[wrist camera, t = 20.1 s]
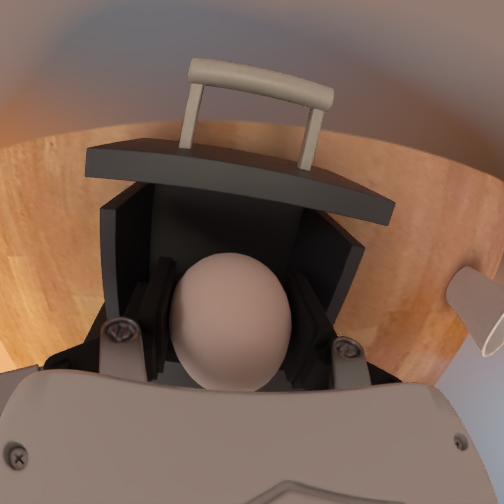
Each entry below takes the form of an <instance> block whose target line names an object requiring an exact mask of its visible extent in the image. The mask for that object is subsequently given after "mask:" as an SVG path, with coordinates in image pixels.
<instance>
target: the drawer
mask: <svg viewBox="0 0 504 504" xmlns="http://www.w3.org/2000/svg"><path fill="white" fill-rule="evenodd" d="M188 83H190V84H191V86H190V91H189V96H188V100H187V105H186V110H185V115H184V120H183V125H182V131H181V136H180V141H171V140H162V139H151V138H141V139H134V140H127V141H121V142H115V143H110V144H104V145H99V146H94V147H89V148H87V152H86V165H85V177H94V178H106V179H117V180H127V181H137V182H136V183H134V184H133V185H131V186H130V187H128V188H127V189H126V190H124V191H123V192H121V193H120V194H119V195H117V196H116V197H114V198H113V199H112V200H110V201H109V202H108V203H106V204H105V205H104V206H102V207H101V208H100V247H101V266H102V279H103V290H104V299H105V307H106V315H107V320H108V319H110V318H113V317H119V316H124V313H125V311H126V308H127V306H128V304H129V301H130V299H131V297H132V294H133V292H134V290H135V288H136V285H137V283H138V282H142V283H148V284H149V282H150V279H151V277H152V274H153V272H154V269H155V267H156V264H157V262H158V259H159V257H160V256H164V257H172V261H177V266H176V278H175V287H176V285H177V284H178V282H179V280H180V279H181V278H182V277H183V275H184V274H185V273H186V271H187V270H188V269H189V268H190V267H192V266H193V265H194V264H196V263H197V262H199V261H200V260H202V259H203V258H206V257H209V256H211V255H214V254H220V253H238V254H242V255H246V256H250V257H252V258H254V259H256V260H258V261H260V262H261V263H262V264H264V265H265V266H266V267H268V268H269V269H270V270H271V271H272V272H273V274H274V275H275V276H276V277H277V278H278V280H279V282H280V284H281V286H282V288H283V289H284V286H285V283H286V279H287V277H288V276H291V275H292V274H293V273H294V274H303V275H305V276H306V277H307V279H308V281H309V283H310V285H311V287H312V289H313V290H314V292H315V294H316V296H317V298H318V300H319V302H320V304H321V305H322V307H323V309H324V311H325V313H326V315H327V317H328V319H329V321H330V323H331V325H332V327H333V325H334V323H335V320H336V318H337V316H338V314H339V312H340V309H341V307H342V305H343V303H344V300H345V298H346V296H347V293H348V291H349V289H350V286H351V284H352V281H353V279H354V276H355V274H356V271H357V269H358V266H359V264H360V261H361V258H362V256H363V253H364V250H365V247H364V246H363V245H362V244H361V243H359V242H358V241H357V240H356V239H355V238H354V237H353V236H352V235H351V234H350V233H349V232H347V231H346V230H345V229H344V228H343V227H342V226H341V225H340V224H338V223H337V222H336V221H335V220H334V219H333V218H332V217H330V216H329V215H328V214H327V213H326V212H329V213H334V214H338V215H343V216H347V217H351V218H356V219H360V220H364V221H368V222H373V223H377V224H381V225H385V226H388V225H389V222H390V219H391V216H392V213H393V210H394V207H395V202H394V201H392V200H390V199H388V198H386V197H384V196H382V195H380V194H378V193H376V192H374V191H372V190H370V189H368V188H366V187H364V186H362V185H360V184H358V183H355V182H353V181H351V180H349V179H347V178H345V177H342V176H340V175H338V174H336V173H333V172H331V171H329V170H326V169H322V168H318V167H314V166H312V162H313V158H314V154H315V150H316V145H317V141H318V137H319V133H320V128H321V124H322V120H323V115H324V112H327V111H328V110H329V109H330V108H331V106H332V103H333V100H334V90H333V89H332V88H330V87H327V86H324V85H321V84H318V83H315V82H312V81H309V80H306V79H302V78H299V77H295V76H291V75H288V74H284V73H280V72H276V71H272V70H268V69H263V68H259V67H254V66H249V65H243V64H238V63H232V62H226V61H219V60H213V59H204V58H193V59H192V61H191V64H190V67H189V72H188ZM204 85H206V86H213V87H221V88H227V89H233V90H238V91H244V92H249V93H254V94H259V95H263V96H268V97H272V98H276V99H281V100H284V101H288V102H292V103H296V104H299V105H303V106H307V107H310V108H312V109H310V113H309V118H308V122H307V126H306V131H305V135H304V139H303V143H302V148H301V152H300V156H299V160H298V162H294V161H289V160H285V159H281V158H276V157H271V156H266V155H262V154H257V153H251V152H246V151H241V150H235V149H229V148H223V147H217V146H210V145H203V144H196V143H193V139H194V133H195V128H196V123H197V117H198V112H199V108H200V102H201V98H202V94H203V89H204ZM167 351H174V352H175V349H174V347H173V344H172V341H171V338H170V335H169V341H168V346H167Z"/></svg>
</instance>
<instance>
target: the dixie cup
mask: <svg viewBox="0 0 504 504" xmlns="http://www.w3.org/2000/svg"><path fill="white" fill-rule="evenodd" d="M446 300H447V302H448V303H449V304H450V306H451V307H452V308H453V310H454V311H455V313H456V314H457V315H458V317H459V318H460V320H461V321H462V322H463V324H464V325H465V327H466V328H467V330H468V331H469V333H470V334H471V335H472V337H473V339H474V340H475V342H476V343H477V345H478V346H479V348H480V350H481V354H482V356H484V357H487V356H490V355H491V354H493V353H494V352H496V351H497V350H498V349H499V348H500V347H501V346H502V345H503V344H504V287H503V286H502V285H500V284H499V283H497V282H495V281H494V280H492V279H490V278H488V277H487V276H485V275H483V274H482V273H480V272H478V271H477V270H474V269H473V268H471V267H469V266H466V267H463V268H462V269H460V270H459V271H458V272H457V273H456V274H455V275H454V277H453V278H452V280H451V281H450V283H449V285H448V288H447V291H446Z"/></svg>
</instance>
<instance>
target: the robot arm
mask: <svg viewBox="0 0 504 504" xmlns="http://www.w3.org/2000/svg"><path fill="white" fill-rule="evenodd" d="M176 266H177V261H172V257H164V256H160V257H159V259H158V262H157V264H156V267H155V269H154V272H153V274H152V277H151V279H150V282H149V284H148V283H142V282H138V283H137V285H136V288H135V290H134V292H133V294H132V297H131V299H130V301H129V304H128V306H127V308H126V311H125V313H124V316H119V317H113V318H110V319H108V320H107V321H105V322H104V324H103V325H102V327H101V334H100V337H98V338H95V339H93V340H90V341H88V342H85V343H83V344H80V345H78V346H75V347H72V348H70V349H67V350H65V351H62V352H59V353H57V354H54V355H53V356H51V357H49V358H48V359H47V360H46V362H45V364H44V366H42V367H39V366H38V364H36V365H32V366H28V367H24V368H20V369H16V370H12V371H8V372H4V373H0V504H498V502H497V498H496V495H495V492H494V489H493V487H492V484H491V481H490V479H489V476H488V474H487V471H486V469H485V467H484V464H483V462H482V460H481V458H480V456H479V453H478V451H477V449H476V447H475V445H474V444H473V441H472V440H471V437H470V436H469V434H468V432H467V430H466V428H465V426H464V425H463V423H462V421H461V419H460V418H459V416H458V415H457V413H456V411H455V410H454V408H453V407H452V405H451V404H450V402H449V401H448V400H447V398H446V397H445V396H444V395H443V394H442V393H441V392H440V391H439V390H438V389H437V388H435V387H432V386H430V385H426V384H421V383H412V382H402V381H401V380H400V379H398V378H397V377H395V376H393V375H391V374H389V373H388V372H386V371H384V370H382V369H380V368H378V367H376V366H374V365H373V364H371V363H369V362H367V361H366V358H365V353H364V350H363V348H362V346H361V345H360V344H359V343H358V342H357V341H355V340H353V339H351V338H349V337H344V336H340V337H338V336H337V335H336V333H335V330H334V328H333V327H332V325H331V323H330V321H329V319H328V317H327V315H326V313H325V311H324V309H323V307H322V305H321V304H320V302H319V300H318V298H317V296H316V294H315V292H314V290H313V289H312V287H311V285H310V283H309V281H308V279H307V277H306V276H305V275H303V274H294V273H293V274H292V275H291V276H288V277H287V279H286V283H285V286H284V291H285V293H286V295H287V299H288V303H289V306H290V311H291V320H292V331H291V336H290V341H289V345H288V349H287V353H286V355H285V358H284V360H283V362H282V364H283V368H284V372H285V376H286V380H287V382H291V386H292V389H304V390H305V391H296V392H245V391H224V390H209V389H198V388H188V387H179V386H171V385H164V384H157V383H150V381H152V380H157V378H158V373H162V374H163V371H164V365H165V358H166V352H167V346H168V341H169V335H170V331H169V322H168V318H169V310H170V303H171V299H172V296H173V293H174V290H175V278H176Z"/></svg>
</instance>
